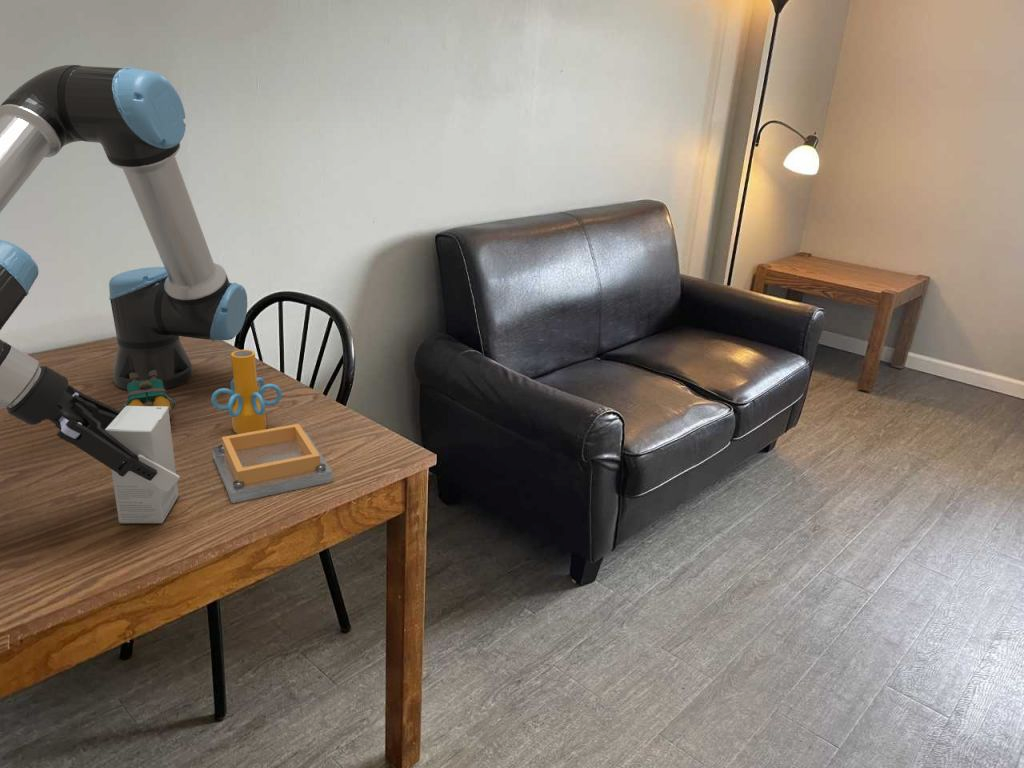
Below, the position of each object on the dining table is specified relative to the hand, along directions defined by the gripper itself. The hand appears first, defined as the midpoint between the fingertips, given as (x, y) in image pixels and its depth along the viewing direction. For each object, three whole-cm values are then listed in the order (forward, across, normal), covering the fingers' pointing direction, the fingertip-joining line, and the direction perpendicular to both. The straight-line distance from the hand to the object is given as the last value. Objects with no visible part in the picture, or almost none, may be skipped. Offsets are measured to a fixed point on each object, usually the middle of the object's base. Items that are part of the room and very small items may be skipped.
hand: (168, 467), depth 113 cm
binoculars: (+5, -30, -5) cm, 31 cm away
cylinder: (+16, -22, +6) cm, 28 cm away
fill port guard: (+15, -5, +8) cm, 17 cm away
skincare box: (+3, 0, -7) cm, 7 cm away
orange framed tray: (+16, -5, +7) cm, 18 cm away
